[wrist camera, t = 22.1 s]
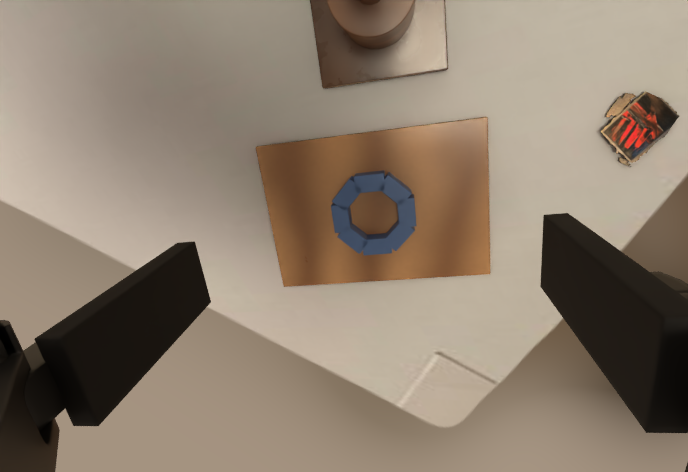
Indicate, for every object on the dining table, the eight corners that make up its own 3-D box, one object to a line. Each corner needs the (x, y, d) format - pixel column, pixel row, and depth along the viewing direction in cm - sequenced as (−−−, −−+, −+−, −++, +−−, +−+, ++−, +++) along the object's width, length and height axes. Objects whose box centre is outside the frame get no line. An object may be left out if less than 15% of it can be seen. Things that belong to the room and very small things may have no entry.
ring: (340, 251, 37) (338, 257, 36) (329, 176, 35) (326, 179, 34) (417, 245, 36) (418, 251, 35) (411, 167, 34) (412, 170, 32)
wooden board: (284, 284, 40) (283, 286, 40) (257, 146, 35) (255, 146, 35) (489, 272, 36) (490, 274, 36) (486, 116, 32) (487, 117, 32)
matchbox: (682, 110, 30) (686, 110, 29) (635, 170, 32) (638, 170, 31) (628, 82, 30) (632, 81, 29) (585, 143, 32) (587, 144, 31)
